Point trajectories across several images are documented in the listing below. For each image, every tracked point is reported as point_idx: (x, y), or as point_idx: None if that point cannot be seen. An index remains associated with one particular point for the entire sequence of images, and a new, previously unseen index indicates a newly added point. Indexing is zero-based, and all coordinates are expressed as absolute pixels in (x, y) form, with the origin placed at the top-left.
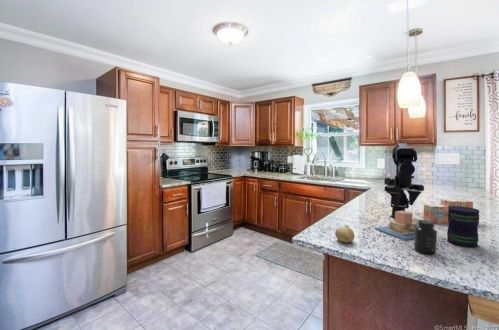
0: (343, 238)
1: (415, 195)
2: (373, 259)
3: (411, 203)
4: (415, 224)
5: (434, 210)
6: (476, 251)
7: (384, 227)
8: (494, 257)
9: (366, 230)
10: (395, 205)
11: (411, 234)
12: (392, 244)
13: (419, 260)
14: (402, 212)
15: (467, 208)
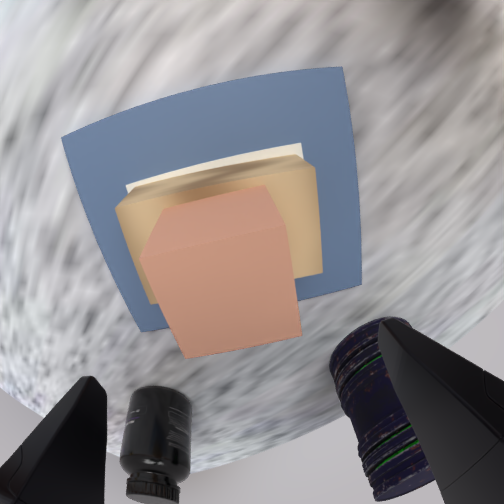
0: None
1: (446, 490)
2: (15, 396)
3: (390, 362)
4: (304, 272)
5: None
6: (337, 399)
7: (131, 128)
8: (336, 419)
9: (14, 162)
10: (79, 392)
11: None
12: (74, 347)
13: (113, 424)
14: (207, 308)
15: None
